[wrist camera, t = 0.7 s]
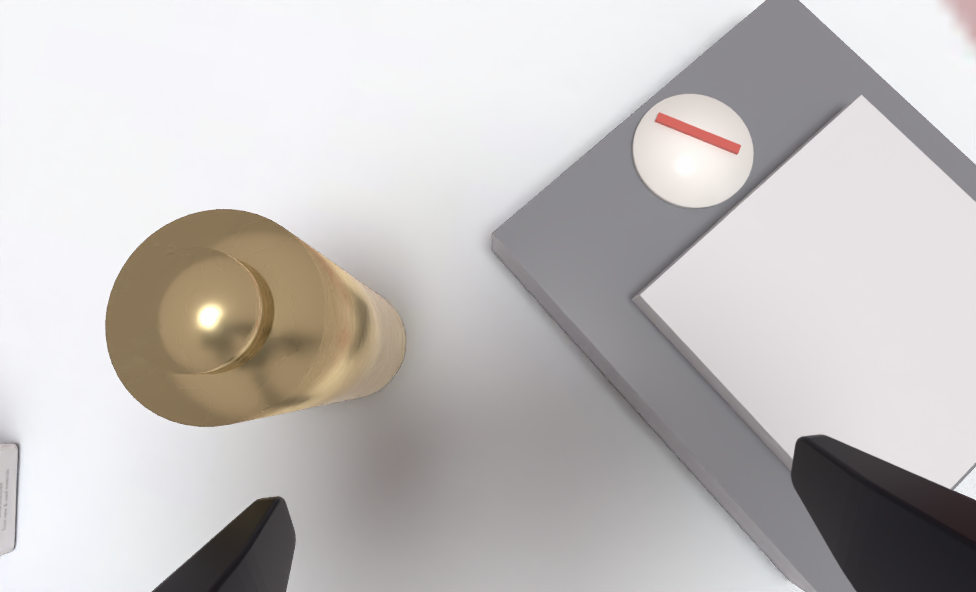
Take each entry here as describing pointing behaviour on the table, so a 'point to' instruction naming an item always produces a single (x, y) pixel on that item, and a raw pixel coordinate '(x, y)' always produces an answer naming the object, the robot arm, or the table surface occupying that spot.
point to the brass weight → (244, 323)
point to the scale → (771, 273)
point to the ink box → (7, 496)
